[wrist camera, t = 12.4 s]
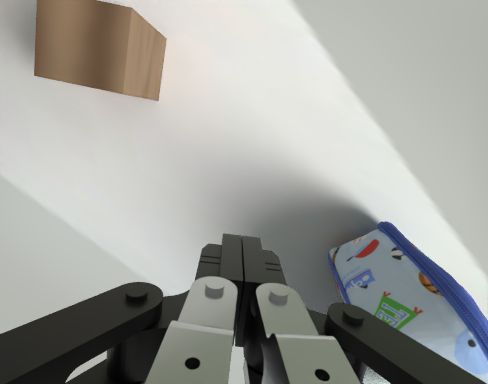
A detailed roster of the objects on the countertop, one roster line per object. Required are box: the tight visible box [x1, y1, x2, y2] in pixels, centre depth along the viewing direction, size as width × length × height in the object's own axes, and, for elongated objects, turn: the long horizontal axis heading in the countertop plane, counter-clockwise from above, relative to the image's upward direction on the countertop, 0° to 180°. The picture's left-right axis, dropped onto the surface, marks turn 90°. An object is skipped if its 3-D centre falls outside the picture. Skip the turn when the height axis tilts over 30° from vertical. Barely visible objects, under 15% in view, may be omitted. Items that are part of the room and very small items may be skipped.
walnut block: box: [34, 0, 166, 101], centre depth 31 cm, size 8×7×10 cm
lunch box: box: [329, 222, 488, 384], centre depth 31 cm, size 28×10×22 cm, turn 31°
